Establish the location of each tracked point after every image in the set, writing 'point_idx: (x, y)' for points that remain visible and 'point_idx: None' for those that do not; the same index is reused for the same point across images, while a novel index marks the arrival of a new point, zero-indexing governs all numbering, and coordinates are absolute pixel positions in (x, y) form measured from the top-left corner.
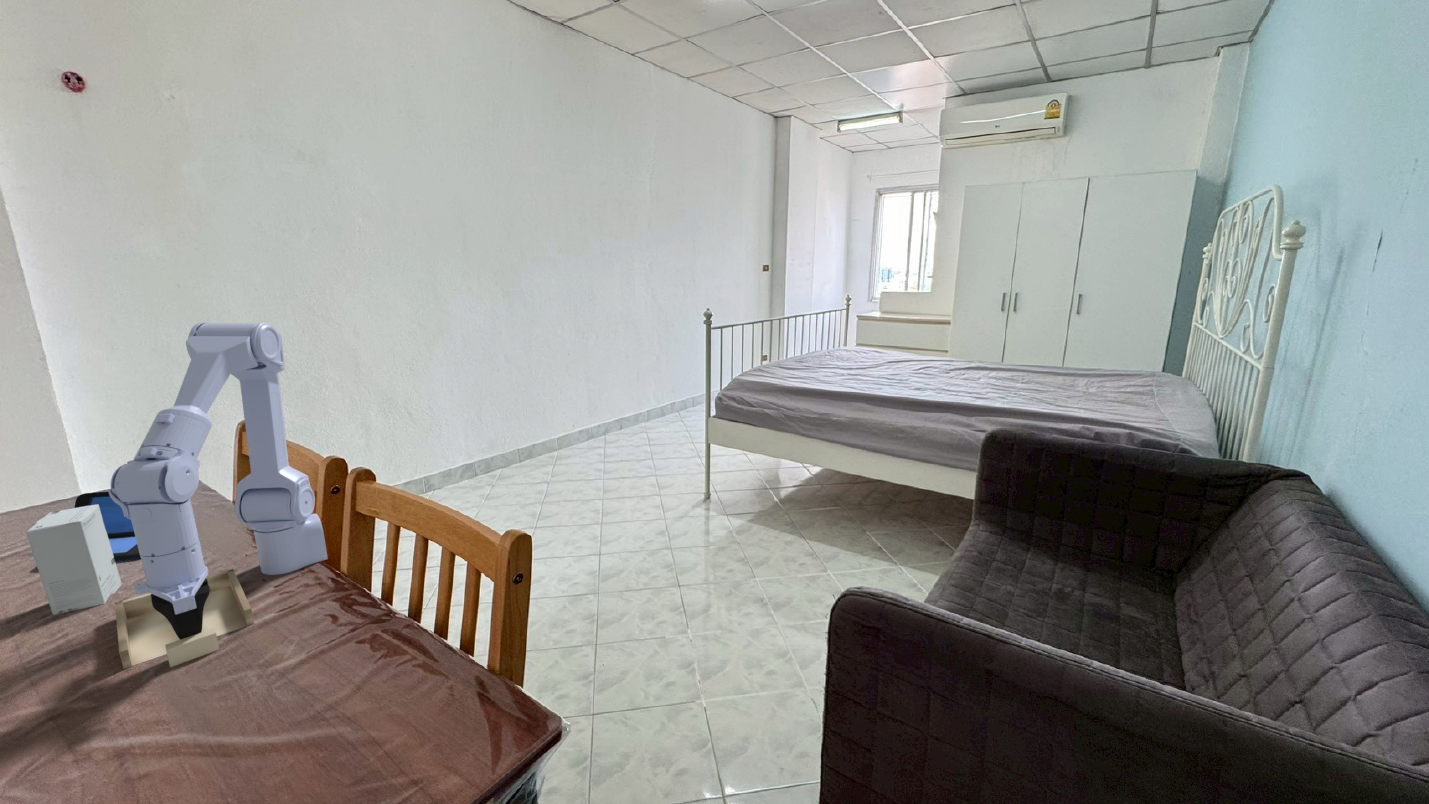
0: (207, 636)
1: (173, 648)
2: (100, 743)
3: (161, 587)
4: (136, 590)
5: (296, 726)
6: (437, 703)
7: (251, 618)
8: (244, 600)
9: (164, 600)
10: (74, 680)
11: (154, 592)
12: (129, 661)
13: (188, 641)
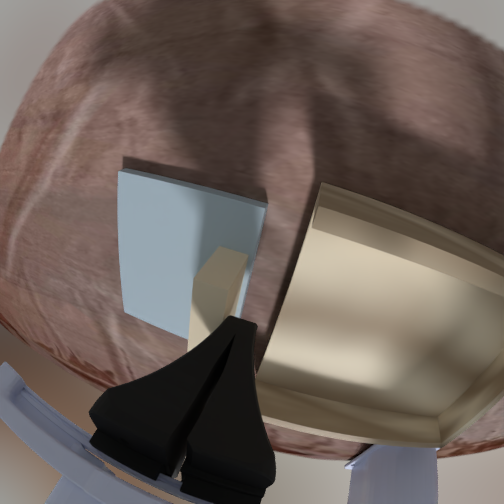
0: (189, 342)
1: (192, 289)
2: (94, 93)
3: (63, 476)
4: (86, 490)
5: (18, 259)
6: (14, 316)
7: None
8: (293, 426)
9: (111, 432)
10: (421, 110)
11: (56, 457)
12: (315, 208)
13: (193, 318)
